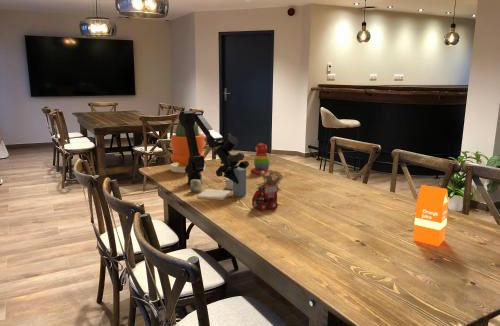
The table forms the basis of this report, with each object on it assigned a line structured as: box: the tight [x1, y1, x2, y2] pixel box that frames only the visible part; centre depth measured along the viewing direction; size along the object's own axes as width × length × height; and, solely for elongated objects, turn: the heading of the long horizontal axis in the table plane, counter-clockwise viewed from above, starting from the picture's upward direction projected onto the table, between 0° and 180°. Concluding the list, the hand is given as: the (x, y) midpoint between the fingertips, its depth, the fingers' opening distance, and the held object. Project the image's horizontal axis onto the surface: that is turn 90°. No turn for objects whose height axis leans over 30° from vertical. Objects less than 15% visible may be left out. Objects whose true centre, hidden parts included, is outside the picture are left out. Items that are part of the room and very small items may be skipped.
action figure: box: [260, 169, 284, 187], centre depth 223 cm, size 10×11×15 cm
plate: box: [196, 188, 232, 201], centre depth 204 cm, size 13×13×1 cm
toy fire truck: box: [251, 185, 279, 212], centre depth 184 cm, size 7×12×10 cm, turn 115°
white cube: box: [225, 178, 233, 190], centre depth 218 cm, size 5×5×5 cm
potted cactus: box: [169, 114, 207, 174], centre depth 254 cm, size 22×22×35 cm
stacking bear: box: [250, 142, 270, 176], centre depth 252 cm, size 11×10×18 cm
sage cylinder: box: [190, 179, 202, 194], centre depth 209 cm, size 5×5×6 cm
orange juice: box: [412, 184, 449, 247], centre depth 149 cm, size 8×9×20 cm
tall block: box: [232, 168, 247, 198], centre depth 203 cm, size 4×4×13 cm
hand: (241, 182), depth 202 cm, fingers closed on tall block, 4 cm apart
